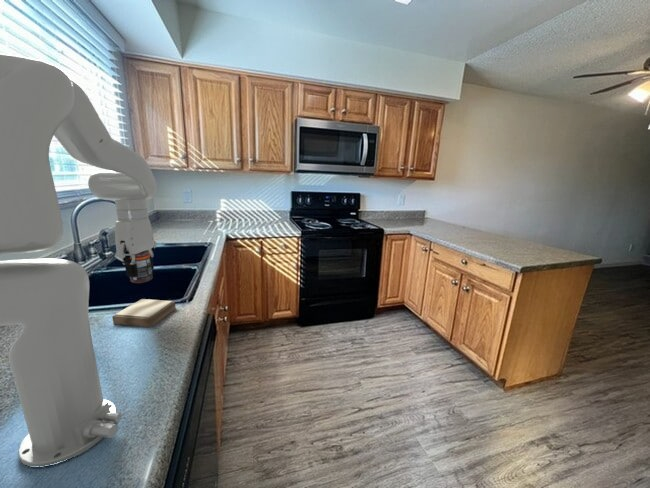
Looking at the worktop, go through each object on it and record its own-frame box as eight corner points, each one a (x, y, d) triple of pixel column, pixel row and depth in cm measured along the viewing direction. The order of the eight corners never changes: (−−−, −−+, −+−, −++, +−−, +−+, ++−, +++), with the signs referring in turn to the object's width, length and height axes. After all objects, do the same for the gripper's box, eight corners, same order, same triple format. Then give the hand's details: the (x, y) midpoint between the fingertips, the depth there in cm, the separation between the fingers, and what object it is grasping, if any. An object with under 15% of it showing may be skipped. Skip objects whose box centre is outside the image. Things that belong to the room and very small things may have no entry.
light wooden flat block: (175, 308, 94) (174, 300, 93) (150, 327, 82) (149, 317, 82) (142, 306, 95) (141, 298, 94) (113, 324, 83) (112, 314, 83)
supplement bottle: (131, 278, 87) (126, 243, 84) (153, 275, 90) (149, 242, 87) (128, 285, 82) (123, 248, 79) (152, 282, 85) (147, 246, 82)
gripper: (142, 211, 90) (149, 263, 94) (94, 218, 73) (105, 282, 77) (164, 212, 89) (170, 265, 93) (121, 219, 72) (130, 284, 77)
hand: (140, 272), depth 85 cm, fingers closed on supplement bottle, 6 cm apart
